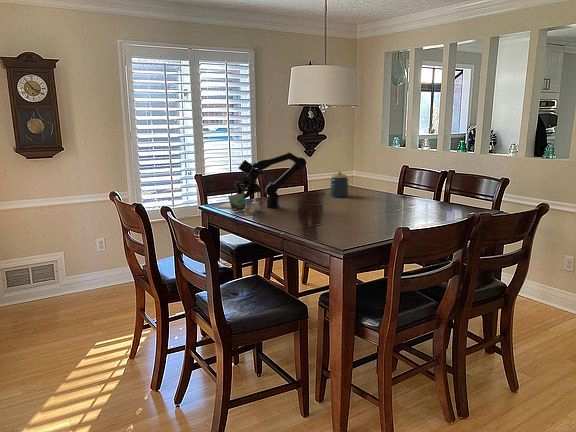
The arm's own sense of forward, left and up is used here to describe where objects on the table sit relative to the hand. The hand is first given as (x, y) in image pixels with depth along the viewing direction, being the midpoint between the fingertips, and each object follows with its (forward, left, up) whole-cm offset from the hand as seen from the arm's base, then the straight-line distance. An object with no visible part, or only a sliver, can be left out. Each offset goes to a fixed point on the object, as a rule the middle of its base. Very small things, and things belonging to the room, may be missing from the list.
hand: (240, 197), depth 281 cm
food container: (0, 0, -7) cm, 7 cm away
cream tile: (+12, -13, -8) cm, 19 cm away
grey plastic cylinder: (-8, -4, -8) cm, 12 cm away
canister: (-46, -69, -9) cm, 83 cm away
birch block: (-9, +7, -8) cm, 14 cm away
